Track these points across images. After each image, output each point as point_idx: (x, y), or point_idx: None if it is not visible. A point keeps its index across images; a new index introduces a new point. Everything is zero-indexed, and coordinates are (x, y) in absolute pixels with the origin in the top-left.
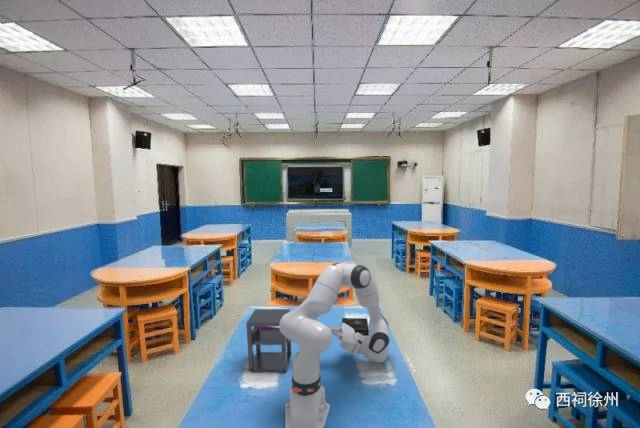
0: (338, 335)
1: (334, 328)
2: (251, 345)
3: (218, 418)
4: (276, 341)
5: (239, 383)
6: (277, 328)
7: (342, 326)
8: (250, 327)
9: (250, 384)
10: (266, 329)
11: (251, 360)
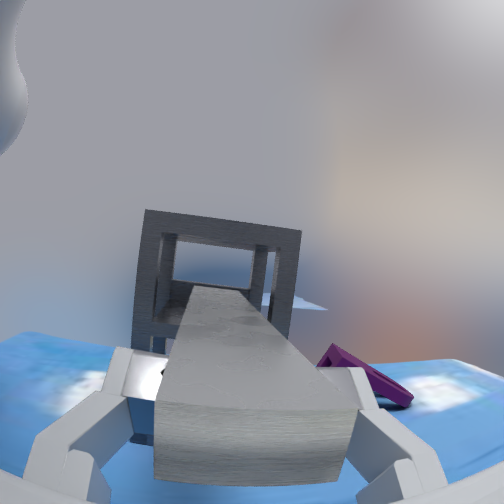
0: (63, 440)
1: (224, 365)
2: (156, 303)
3: (10, 343)
4: (162, 313)
5: (106, 371)
6: (370, 376)
7: (474, 474)
8: (163, 242)
9: (93, 381)
10: (332, 356)
11: (152, 351)
